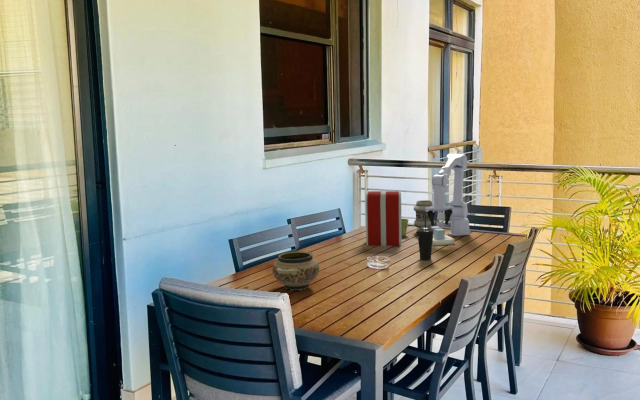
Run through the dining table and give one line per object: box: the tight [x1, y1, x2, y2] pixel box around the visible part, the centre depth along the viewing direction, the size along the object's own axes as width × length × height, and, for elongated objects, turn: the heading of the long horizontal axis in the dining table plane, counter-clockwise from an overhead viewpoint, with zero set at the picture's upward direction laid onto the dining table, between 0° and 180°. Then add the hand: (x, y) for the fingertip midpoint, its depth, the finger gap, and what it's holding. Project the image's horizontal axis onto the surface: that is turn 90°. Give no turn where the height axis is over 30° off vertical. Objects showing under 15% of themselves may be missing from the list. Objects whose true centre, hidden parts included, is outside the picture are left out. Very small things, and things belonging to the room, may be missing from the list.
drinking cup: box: [416, 216, 434, 261], centre depth 268 cm, size 8×8×20 cm
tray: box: [432, 234, 455, 247], centre depth 306 cm, size 12×15×2 cm
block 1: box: [430, 225, 441, 234], centre depth 316 cm, size 4×4×6 cm
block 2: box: [434, 228, 446, 240], centre depth 303 cm, size 4×4×6 cm
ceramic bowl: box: [272, 251, 320, 291], centre depth 228 cm, size 24×18×15 cm
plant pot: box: [401, 218, 410, 237], centre depth 326 cm, size 9×9×9 cm
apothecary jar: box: [413, 199, 437, 235], centre depth 330 cm, size 12×12×18 cm
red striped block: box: [365, 190, 403, 247], centre depth 307 cm, size 17×18×27 cm
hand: (439, 224), depth 302 cm, fingers open, 7 cm apart
